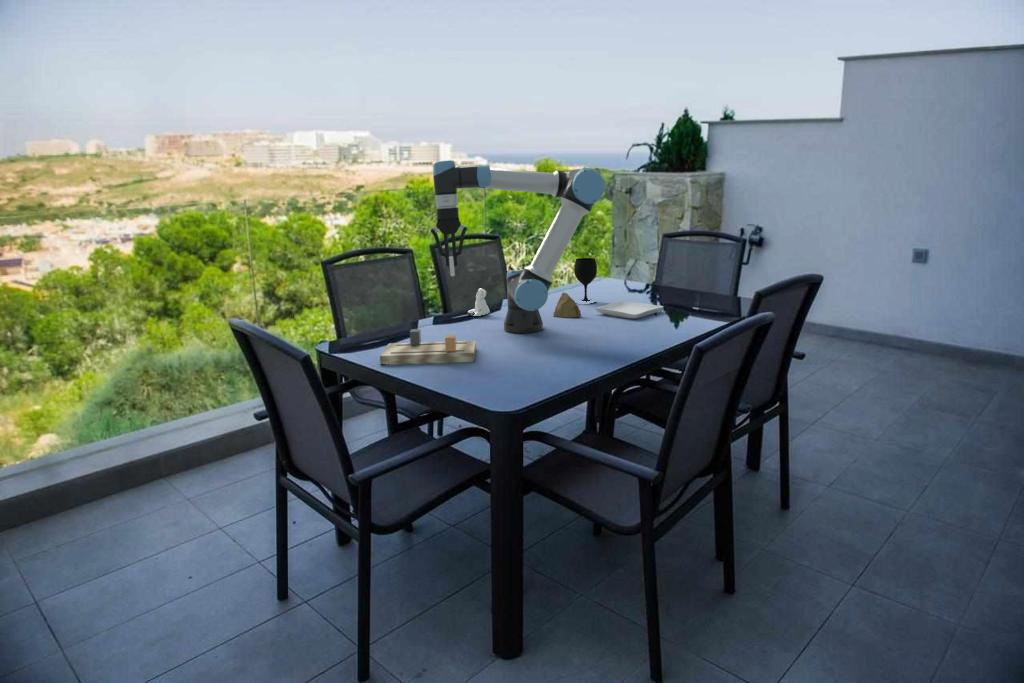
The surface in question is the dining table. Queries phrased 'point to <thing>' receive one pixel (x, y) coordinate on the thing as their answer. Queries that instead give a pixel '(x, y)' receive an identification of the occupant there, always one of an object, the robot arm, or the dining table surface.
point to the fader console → (427, 353)
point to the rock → (567, 307)
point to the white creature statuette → (480, 304)
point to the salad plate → (628, 309)
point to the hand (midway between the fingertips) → (452, 275)
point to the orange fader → (450, 342)
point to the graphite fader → (415, 337)
